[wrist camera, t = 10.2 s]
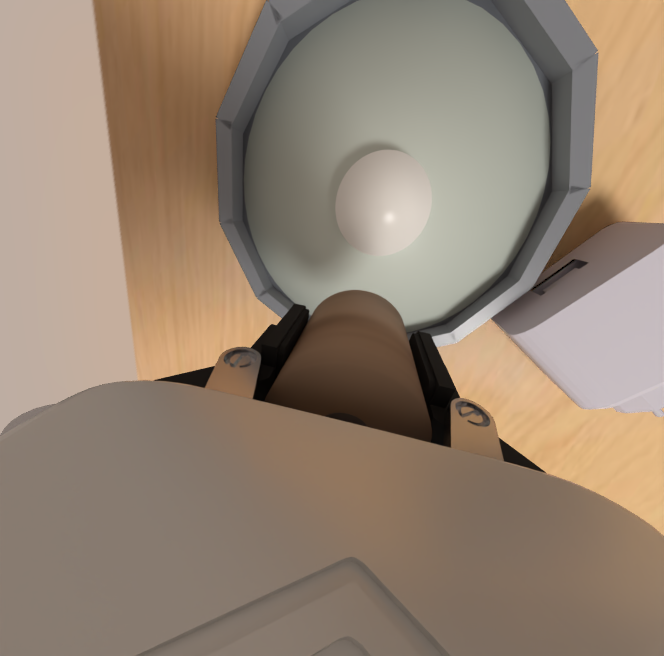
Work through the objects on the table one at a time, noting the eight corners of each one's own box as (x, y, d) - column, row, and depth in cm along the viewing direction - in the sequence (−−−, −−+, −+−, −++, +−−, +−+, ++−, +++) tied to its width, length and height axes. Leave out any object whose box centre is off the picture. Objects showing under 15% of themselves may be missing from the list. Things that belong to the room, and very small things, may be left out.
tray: (466, 364, 22) (477, 381, 20) (237, 311, 23) (222, 322, 21) (657, 7, 12) (722, -39, 10) (235, -55, 13) (207, -110, 11)
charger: (584, 414, 23) (484, 312, 20) (711, 357, 19) (609, 220, 16) (632, 461, 19) (514, 339, 16) (808, 399, 15) (694, 223, 12)
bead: (389, 384, 13) (400, 501, 8) (302, 364, 14) (258, 464, 8) (419, 302, 11) (463, 390, 6) (315, 279, 11) (265, 344, 6)
